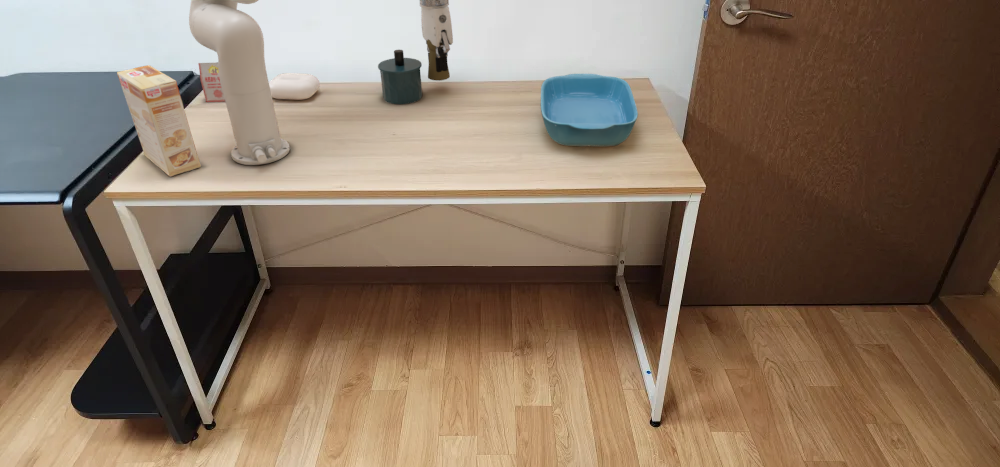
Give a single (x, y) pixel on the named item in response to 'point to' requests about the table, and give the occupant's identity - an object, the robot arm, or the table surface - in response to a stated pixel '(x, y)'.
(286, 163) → the table surface
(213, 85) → the tea bag
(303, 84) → the earbud case
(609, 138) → the casserole dish
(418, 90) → the pot
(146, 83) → the coffeecake box
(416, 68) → the pot lid
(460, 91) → the table surface
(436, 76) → the pepper mill
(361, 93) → the table surface
